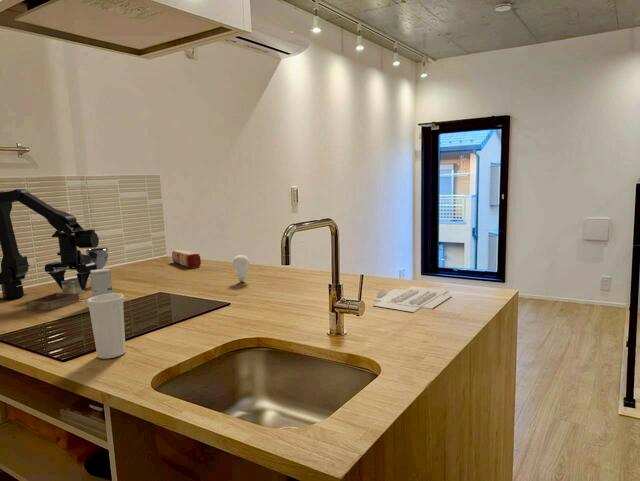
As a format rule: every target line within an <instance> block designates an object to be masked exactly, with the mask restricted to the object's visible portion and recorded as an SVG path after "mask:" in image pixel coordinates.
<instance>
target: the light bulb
mask: <svg viewBox="0 0 640 481" xmlns="http://www.w3.org/2000/svg"><path fill="white" fill-rule="evenodd" d="M232 267H233V269H234V270H235V272H236V275H237V278H238V282H240V283H244V282H245V281H246V279H247V278H246V275H247V271H248V269H249V267H250V259H249V258H248V257H247V256H246V255H244V254H243V255H242V254H238V255H236V256H235V257H234V258H233V259H232Z"/></svg>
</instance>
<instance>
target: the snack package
mask: <svg viewBox="0 0 640 481" xmlns="http://www.w3.org/2000/svg"><path fill="white" fill-rule="evenodd" d="M201 258H202V257H201V255H200V253H197V252H192V251H188V250H183V249H176V250H173V251H172V253H171V260H172V262H173V263H176V264H178V265H181V266H183V267H186V268H188V269H195V268H198V267H200V266H201V264H202V259H201Z"/></svg>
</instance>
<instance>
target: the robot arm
mask: <svg viewBox="0 0 640 481" xmlns="http://www.w3.org/2000/svg"><path fill="white" fill-rule="evenodd" d="M17 202H19V203H20V204H22V205H23V206H25V207H27V208H28V209H30V210H32V211H34V212H36V214H38V215H40V216H41V217H43V218H44V219H45V220H46V221H47V222H48V224H49V225H50V226H51V227H53V228H54V229H55V232H54V233H53V234H52V235H51V238H57V240H58V248H59V251H58V252H56V254H57V256H60V261H53V262H50V263H46V264H45V265H44V273H47V274H48V275H50V276H51V278H53V280H54V281H55V283H56V284H57V286H59V288H60V289H61V290H62V284H61V281H65V274H66V272H67V270H69V271H72V270H73V271H76V272H77V273H76V278H78V281H79V284H80V287H81V289H82V290H84V291H85V290H86V287H87V285H86V284H87V280H88V279H89V277H90V276H91V274H90V270H97V266H96V264H95V263H91V262H90V261H91V256H89V255H86V254H82V252H81V250H80V249H93V248H98V246H99V243H100V240H99V236H98V234H97V233H96V232H95V231H96V230H95V228H93V229H92V228H90V229H85V228H83V227H82V226H81V224H80V223H79V222H78V221H77V217H76V216H75V215H73V214H71V213H69V212H66V211H64V210H59V209H56V208H54V207H53V206H52V205H50V204H48V203H47V202H45V201H44V200H42V199H40V198H39V197H36V196H35V195H34V194H32V193H31V192H29V191H28V190H27V189H25V188H21V189H20V188H19V189H13V190H8V191H4V190H3V191H2V190H1V191H0V248H1V253H2V259H1V262H0V286H1V293H2V296H1V297H0V300H3V301H5V300H8V301H13V300H17V299H20V298H22V297H25V296H27V295H28V294H27V293H26V294H25V293H24V285H23V283H22V282H23V280H25V278H26V274H27V273H28V272H29V267H30V264H29V263H28V257H27V256H26V255H25V256H23V255H22V254H21V253H20V252H19V248H18V244H17V239H16V235H15V232H14V227H13V222H12V219H11V212H12V210H13V209H12V208H13V203H17Z"/></svg>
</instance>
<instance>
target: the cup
mask: <svg viewBox="0 0 640 481" xmlns="http://www.w3.org/2000/svg"><path fill="white" fill-rule="evenodd" d="M88 298H89V299H88V300H86V305H87V307H88V309H89V314H90V315H89V316H90V321H91V327H92V333H93V339H94V344H95V349H96V356H97V358H99V359H112V358H113V359H114V358H117V357H120V356H122V355H123V354H125V353H126V336H125V335H126V334H125V316H124V315H125V313H124V312H125V311H124V301H125V295H124V294H123V293H114V292H113V293H111V294H102V295H97V296H94V297H93V296H91V298H90V297H88Z"/></svg>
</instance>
